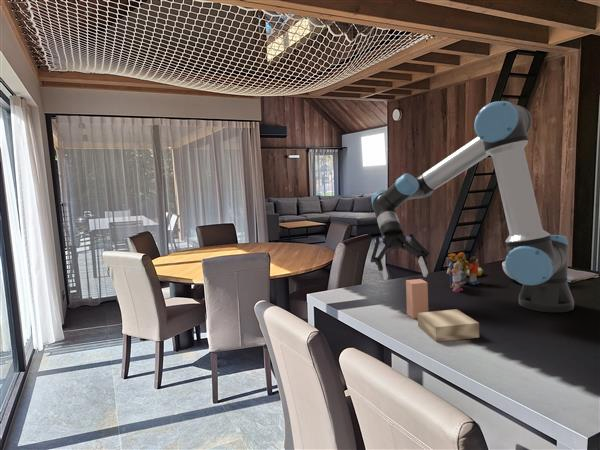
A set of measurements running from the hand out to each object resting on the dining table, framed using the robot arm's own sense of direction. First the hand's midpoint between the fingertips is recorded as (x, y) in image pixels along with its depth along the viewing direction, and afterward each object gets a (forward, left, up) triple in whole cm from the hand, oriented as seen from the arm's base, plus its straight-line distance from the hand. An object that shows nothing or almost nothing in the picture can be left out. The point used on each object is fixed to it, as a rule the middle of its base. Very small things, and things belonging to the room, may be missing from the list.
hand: (406, 276), depth 133 cm
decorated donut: (-8, -55, -11) cm, 57 cm away
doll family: (-8, -35, -11) cm, 38 cm away
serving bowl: (-32, -52, -11) cm, 62 cm away
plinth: (-16, +15, -11) cm, 25 cm away
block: (-5, +5, -11) cm, 13 cm away
